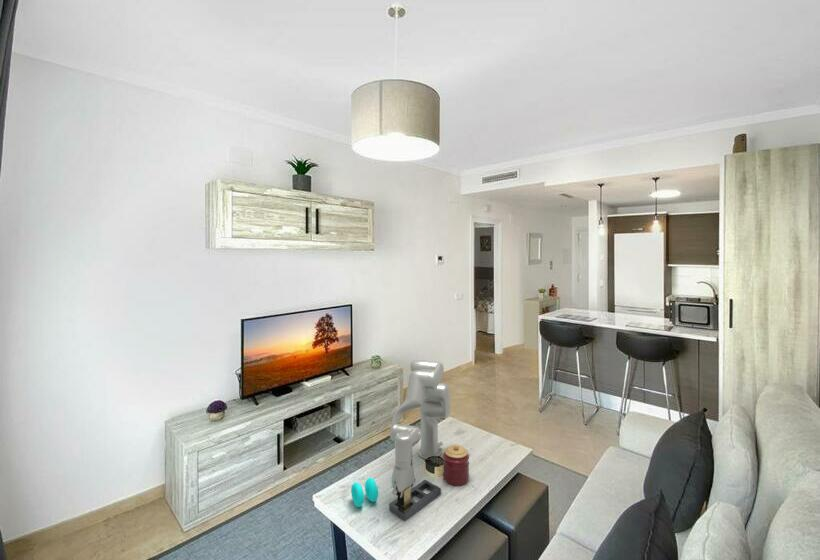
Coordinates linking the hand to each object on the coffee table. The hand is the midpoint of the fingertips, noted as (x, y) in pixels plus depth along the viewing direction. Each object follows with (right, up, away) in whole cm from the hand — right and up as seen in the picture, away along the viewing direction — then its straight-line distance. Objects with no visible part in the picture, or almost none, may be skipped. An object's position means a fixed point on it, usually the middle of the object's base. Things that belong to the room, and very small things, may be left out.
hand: (404, 501), depth 163 cm
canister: (+26, -2, +23) cm, 35 cm away
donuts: (-18, -4, +6) cm, 20 cm away
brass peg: (0, -2, 0) cm, 2 cm away
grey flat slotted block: (+5, -4, +6) cm, 9 cm away
